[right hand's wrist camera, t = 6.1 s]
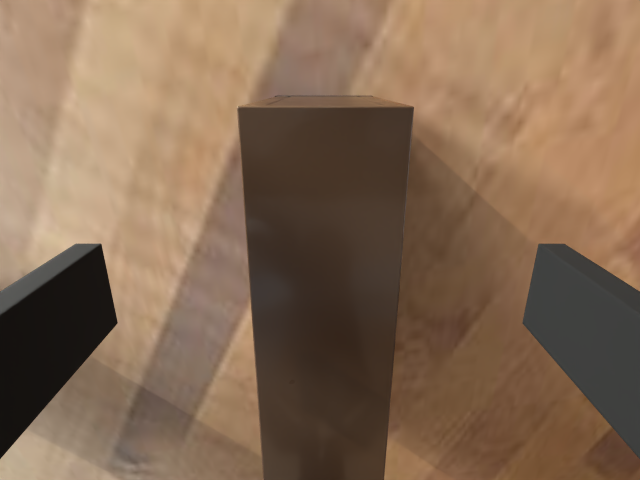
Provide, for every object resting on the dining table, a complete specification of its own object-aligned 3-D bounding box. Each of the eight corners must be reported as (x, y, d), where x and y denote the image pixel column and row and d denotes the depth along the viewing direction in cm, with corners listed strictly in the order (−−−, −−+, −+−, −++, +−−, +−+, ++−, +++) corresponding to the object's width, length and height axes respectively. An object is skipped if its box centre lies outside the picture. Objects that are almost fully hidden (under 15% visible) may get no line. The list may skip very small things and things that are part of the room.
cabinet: (360, 344, 29) (382, 497, 18) (285, 343, 29) (264, 496, 18) (371, 95, 23) (414, 106, 12) (276, 95, 23) (236, 106, 12)
